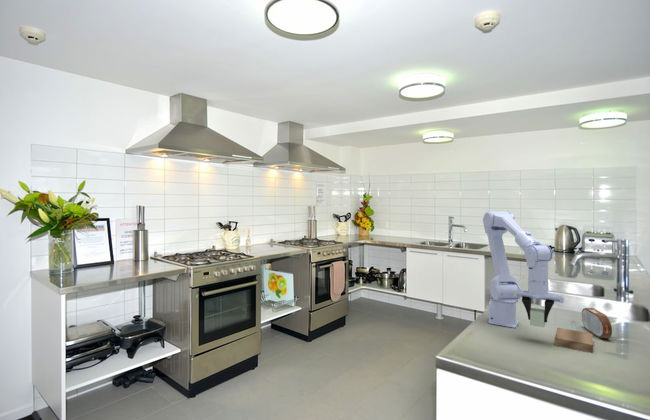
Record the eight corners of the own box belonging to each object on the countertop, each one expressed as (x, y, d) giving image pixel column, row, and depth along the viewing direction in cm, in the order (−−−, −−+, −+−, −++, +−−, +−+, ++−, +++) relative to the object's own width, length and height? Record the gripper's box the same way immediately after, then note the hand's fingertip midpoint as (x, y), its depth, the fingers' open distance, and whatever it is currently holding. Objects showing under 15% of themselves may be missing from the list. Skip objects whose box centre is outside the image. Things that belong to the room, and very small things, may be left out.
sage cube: (530, 325, 120) (530, 310, 120) (531, 321, 123) (531, 307, 123) (543, 327, 118) (544, 312, 117) (545, 324, 121) (545, 309, 121)
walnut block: (554, 346, 117) (554, 337, 117) (557, 335, 126) (557, 327, 126) (592, 354, 111) (592, 344, 111) (592, 342, 120) (592, 333, 120)
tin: (613, 342, 119) (613, 317, 119) (602, 341, 120) (602, 316, 120) (589, 327, 134) (589, 305, 134) (579, 326, 135) (580, 304, 135)
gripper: (512, 279, 121) (511, 319, 121) (563, 285, 113) (562, 328, 113) (515, 276, 127) (515, 314, 127) (564, 281, 118) (563, 322, 118)
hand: (537, 320), depth 120 cm, fingers closed on sage cube, 4 cm apart
